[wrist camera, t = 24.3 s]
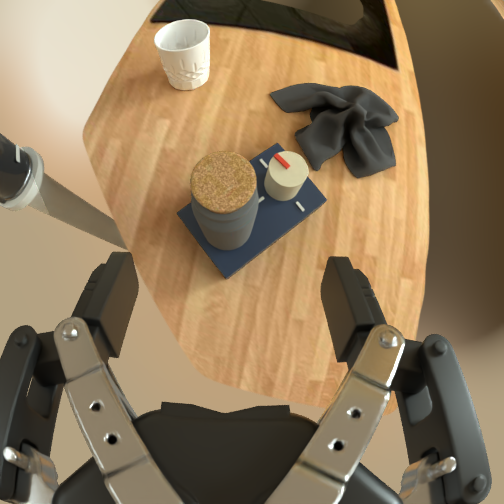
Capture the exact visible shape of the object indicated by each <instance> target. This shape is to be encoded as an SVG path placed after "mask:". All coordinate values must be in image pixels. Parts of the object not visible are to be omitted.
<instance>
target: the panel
mask: <svg viewBox="0 0 504 504" xmlns="http://www.w3.org/2000/svg"><path fill="white" fill-rule="evenodd" d="M283 151H285V150H284V149H283V148H282V147H281V146H280V145H279V144H278V143H276V144H275V145H273V146H272V147H270V148H268V149H267V150H265V151H264V152H262V153H261V154H259V155H258V156H256V157H255V158H253V159H252V160H250V161H249V162H250V164H251V165H252V167H253V168H254V171H255V174H256V184H257V192H258V197H259V204H258V210H257V214H256V218H255V221H254V225H253V228H252V231H251V234H250V236H249V238H248V240H247V241H246V242H245V243H244V244H243V245H242V246H240V247H239V248H237V249H234V250H221V249H218V248H216V247H214V246H212V245H211V244H210V243H209V242H208V241H207V239H206V237H205V236H204V234H203V232H202V230H201V228H200V226H199V224H198V222H197V220H196V218H195V216H194V213H193V210H192V205H191V203H189V204H188V205H187V206H185V207H184V208H183V209H181V210H180V211H179V212H177V215H178V216H179V217H180V219H181V220H182V221H183V223H184V224H185V226H186V227H187V228H188V230H189V231H190V232H191V234H192V235H193V236H194V238H195V239H196V240H197V242H198V243H199V244H200V246H201V247H202V248H203V250H204V251H205V252H206V253H207V255H208V256H209V257H210V259H211V260H212V261H213V263H214V264H215V265H216V267H217V268H218V269H219V270H220V272H221V273H222V274H223V276H224V277H225V278H226V279H228V278H230V277H231V276H232V275H233V274H235V273H236V272H237V271H239V270H240V269H241V268H243V267H244V266H245V265H246V264H248V263H249V262H250V261H252V260H253V259H254V258H255V257H257V256H258V255H259V254H261V253H262V252H263V251H264V250H266V249H267V248H268V247H270V246H271V245H272V244H273V243H275V242H276V241H277V240H279V239H280V238H281V237H282V236H284V235H285V234H286V233H288V232H289V231H290V230H291V229H293V228H294V227H295V226H296V225H298V224H299V223H300V222H302V221H303V220H304V219H305V218H307V217H308V216H309V215H311V214H312V213H313V212H314V211H316V210H317V209H318V208H319V207H321V206H322V205H323V204H324V203H325V202H326V201H327V199H326V198H325V197H324V196H323V194H322V193H321V192H320V191H319V190H318V188H317V187H316V186H315V185H314V184H313V182H312V181H311V180H310V179H309V178H308V176H307V178H306V180H305V181H304V183H303V185H302V186H301V188H300V189H299V191H298V193H297V194H296V196H295V197H293V198H292V199H290V200H287V201H279V200H276V199H274V198H272V197H271V196H270V195H269V194H268V193H267V192H266V190H265V186H264V181H265V177H266V173H267V170H268V166H269V162H270V160H271V159H272V157H273V156H274V155H275V154H276V153H279V152H283Z"/></svg>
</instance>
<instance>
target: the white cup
mask: <svg viewBox="0 0 504 504" xmlns="http://www.w3.org/2000/svg"><path fill="white" fill-rule="evenodd" d="M154 43H155V46H156V49H157V52H158V54H159V57H160V60H161V63H162V66H163V68H164V70H165V72H166V74H167V77H168V79H169V82H170V84H171V85H172V86H173V87H174V88H175V89H179V90H193V89H195V88H198V87H200V86H202V85H203V84H204V83H205V82H206V81H207V80H208V77H209V64H210V30H209V27H208V26H207V25H206V24H205V23H203V22H201V21H198V20H191V19H187V20H179V21H175V22H172V23H170V24H168V25H166V26H164V27H163V28H161V29H160V30H159V31H158V32H157V33H156V35H155V37H154Z"/></svg>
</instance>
